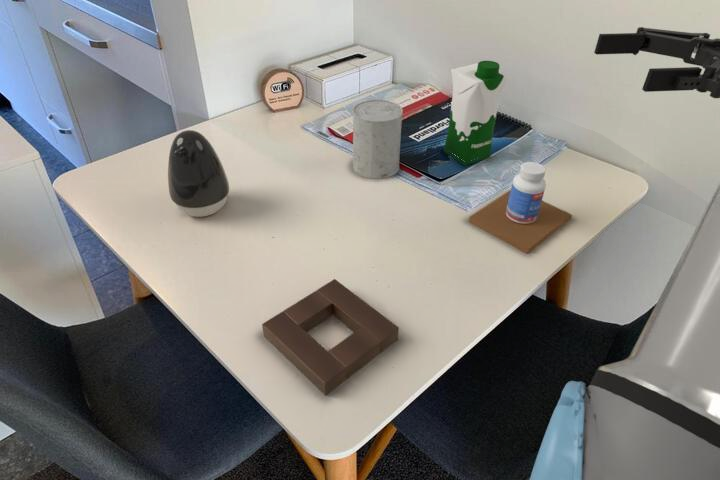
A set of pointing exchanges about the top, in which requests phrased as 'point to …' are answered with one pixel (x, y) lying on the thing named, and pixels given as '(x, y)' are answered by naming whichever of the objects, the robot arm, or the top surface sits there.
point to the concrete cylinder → (376, 138)
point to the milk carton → (474, 111)
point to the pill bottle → (526, 193)
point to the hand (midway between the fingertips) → (620, 60)
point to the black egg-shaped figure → (196, 175)
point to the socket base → (347, 355)
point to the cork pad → (517, 233)
